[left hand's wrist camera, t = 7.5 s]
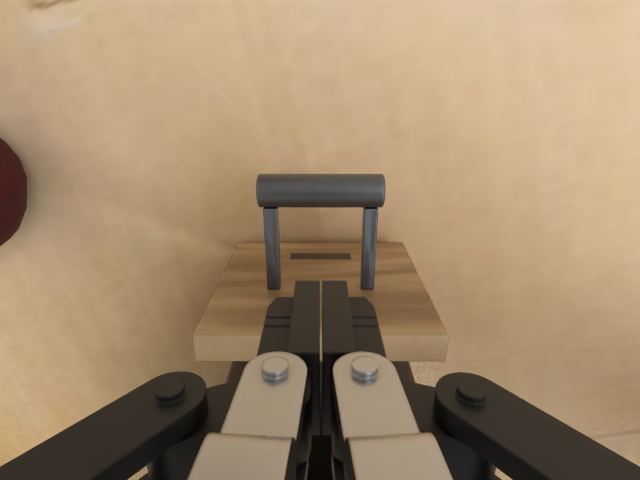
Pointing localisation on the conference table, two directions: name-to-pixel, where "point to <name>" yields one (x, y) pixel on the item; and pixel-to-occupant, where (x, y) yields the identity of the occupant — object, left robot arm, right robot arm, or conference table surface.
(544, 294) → the conference table surface
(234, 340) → the drawer
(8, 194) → the potato
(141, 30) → the conference table surface
